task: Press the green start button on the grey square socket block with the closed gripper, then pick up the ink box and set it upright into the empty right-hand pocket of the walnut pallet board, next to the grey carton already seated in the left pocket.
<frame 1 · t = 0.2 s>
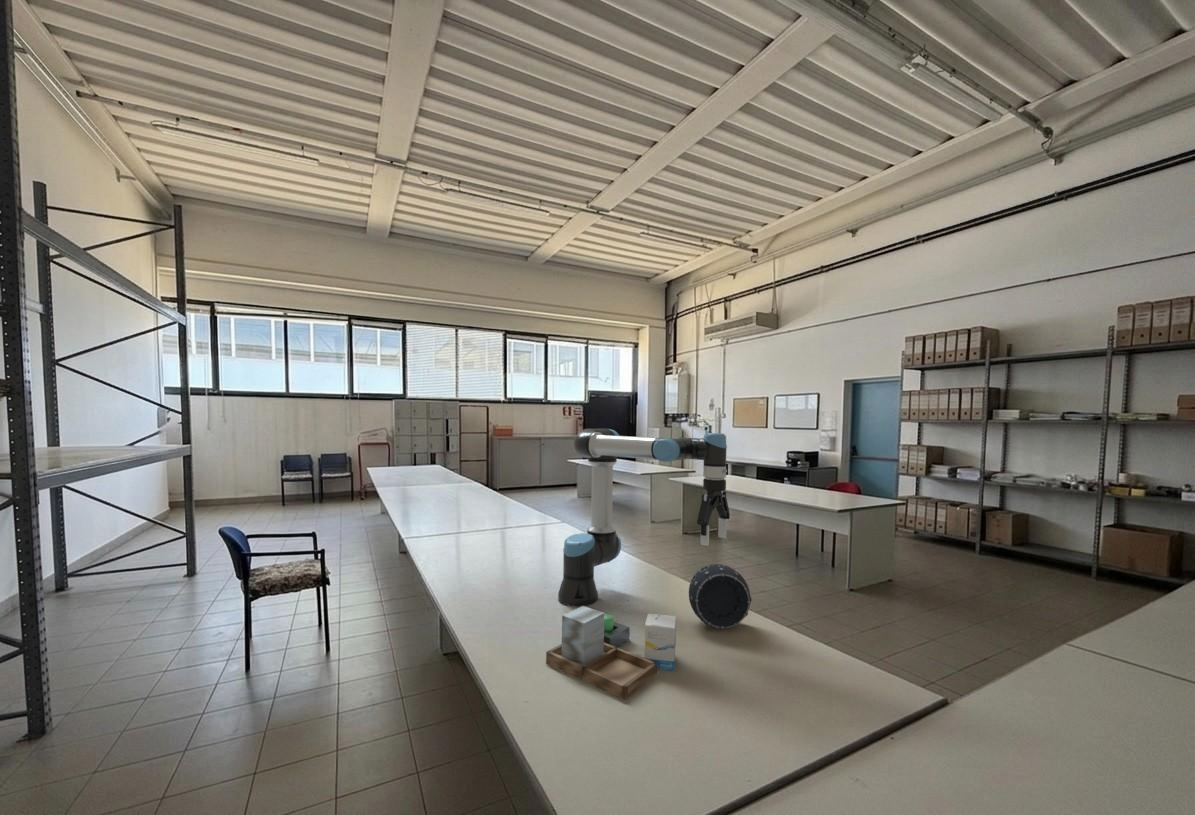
hand: (713, 541, 159), 28 cm above the table, fingers open, 13 cm apart
start button: (607, 625, 145), point 5 cm above the table, slide at 0.0 cm
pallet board: (600, 668, 128), on the table
grey square socket block: (606, 640, 145), on the table
dark round pouf: (718, 626, 157), on the table
ink box: (660, 662, 133), on the table
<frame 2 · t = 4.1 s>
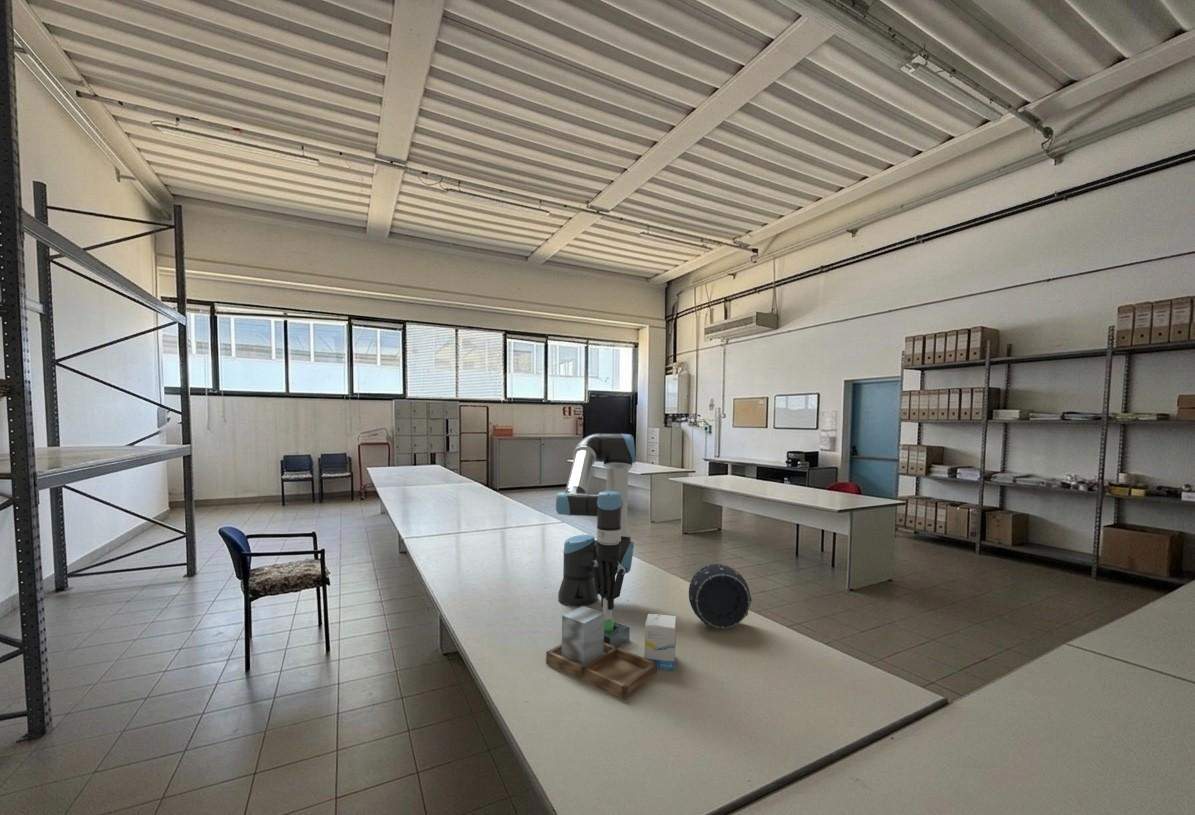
hand: (607, 619, 145), 7 cm above the table, fingers closed
start button: (607, 627, 145), point 4 cm above the table, slide at 0.7 cm, touching gripper
everything else where it was.
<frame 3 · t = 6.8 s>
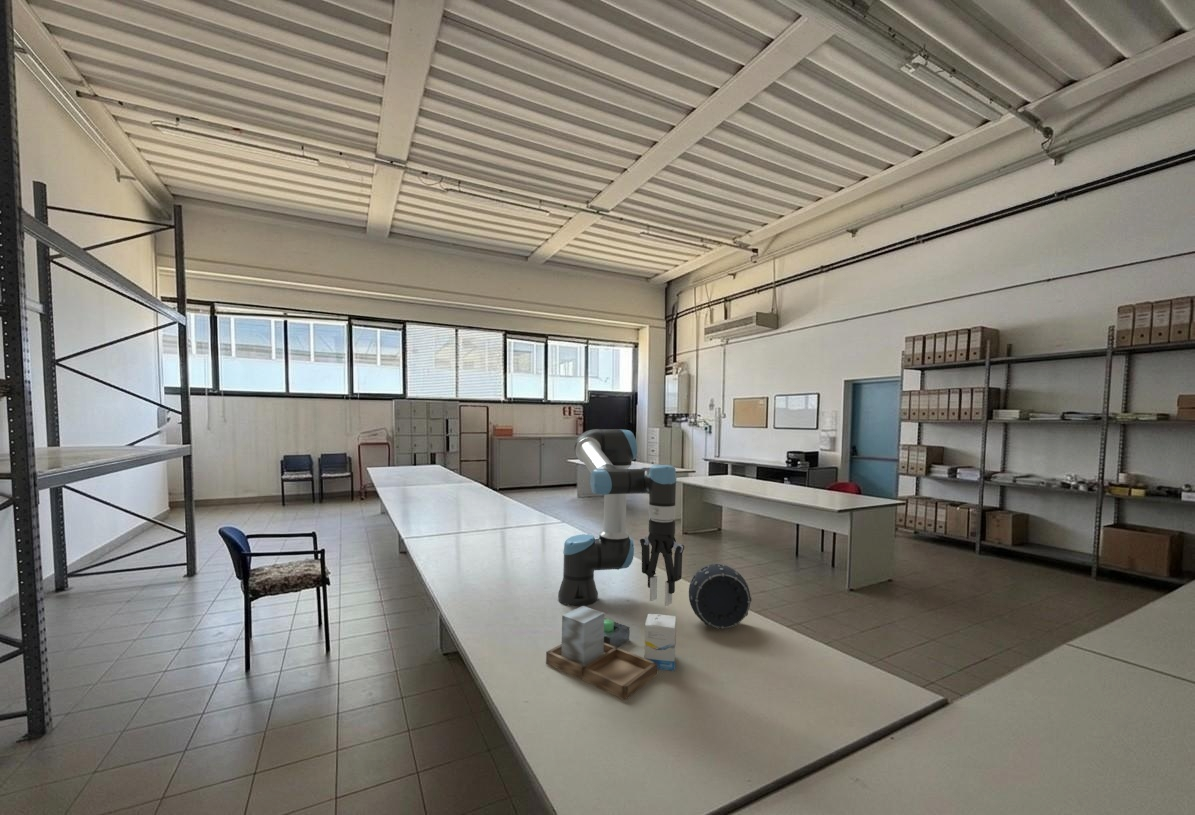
hand: (660, 601, 133), 17 cm above the table, fingers open, 4 cm apart
start button: (607, 630, 145), point 3 cm above the table, slide at 1.5 cm
everything else where it was.
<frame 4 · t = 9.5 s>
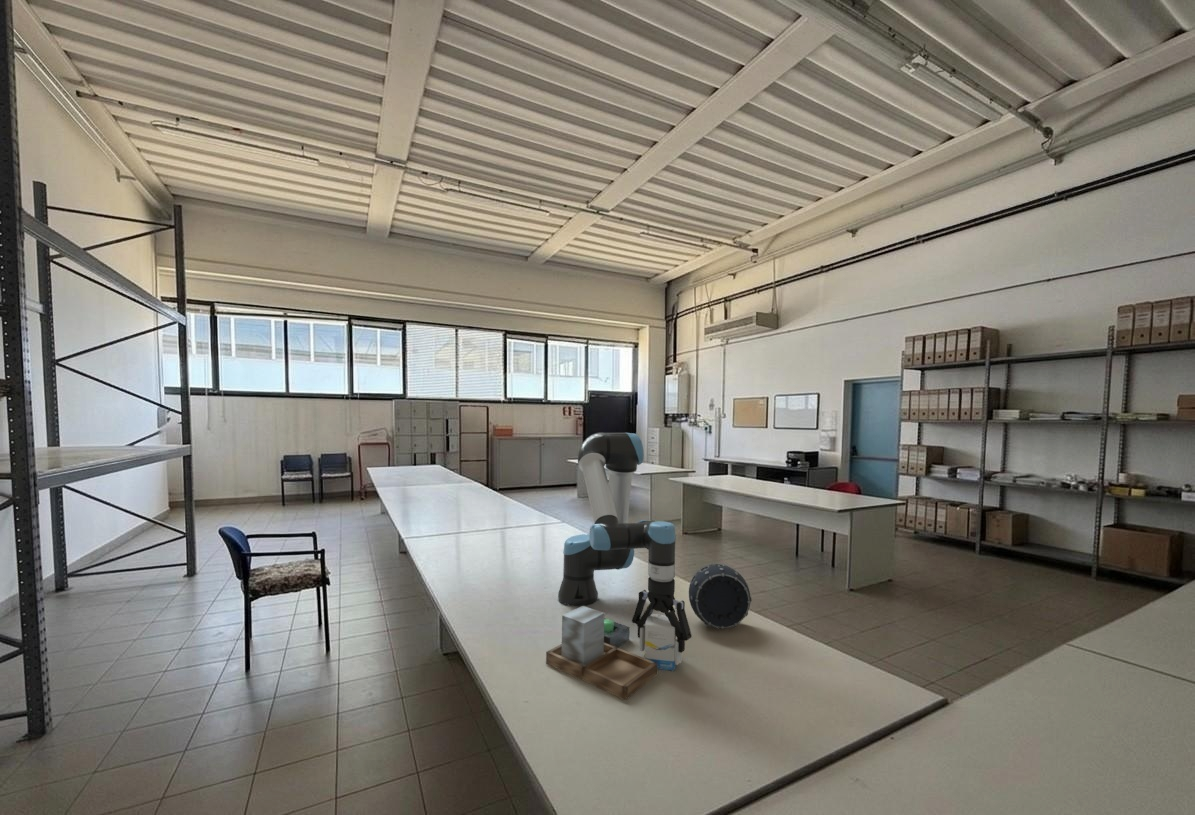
hand: (660, 656, 133), 2 cm above the table, fingers closed on ink box, 11 cm apart
ink box: (660, 662, 133), on the table, touching gripper
everything else where it was.
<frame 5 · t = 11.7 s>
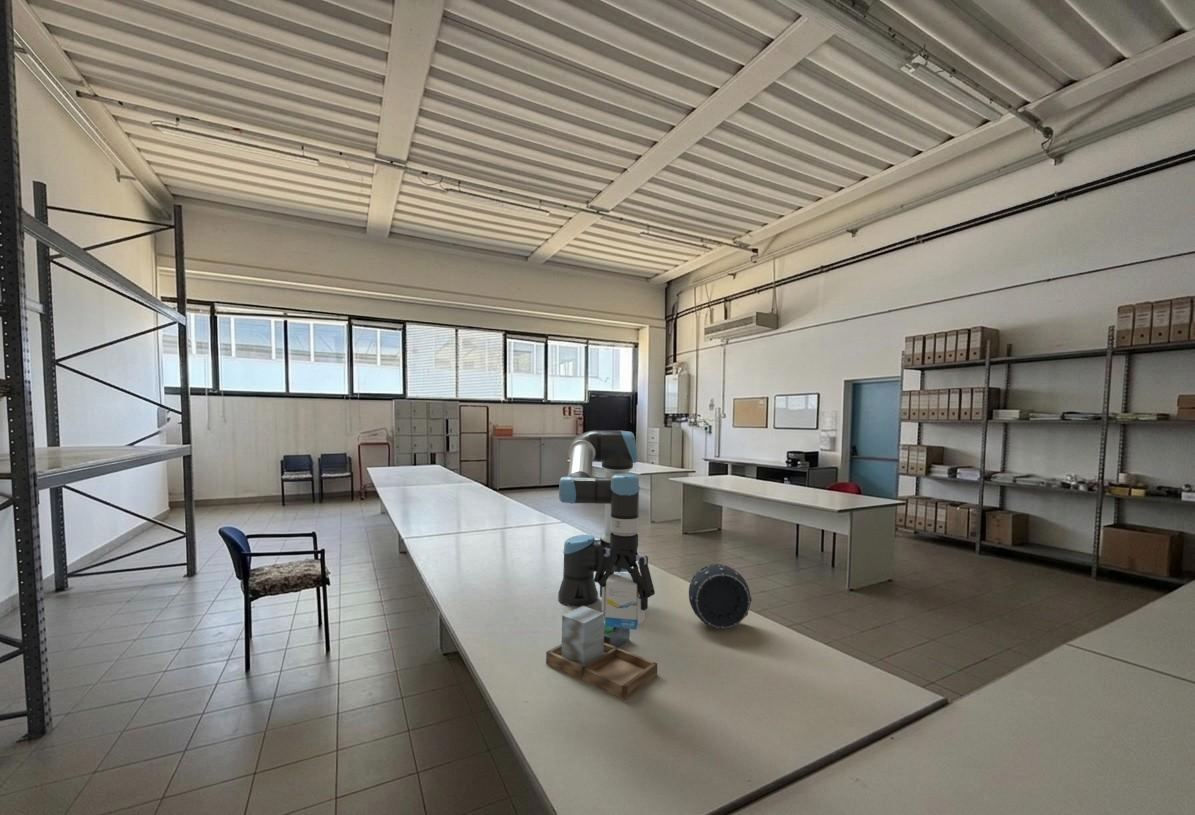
hand: (622, 615, 125), 16 cm above the table, fingers closed on ink box, 11 cm apart
ink box: (622, 622, 125), point 14 cm above the table, touching gripper
everything else where it was.
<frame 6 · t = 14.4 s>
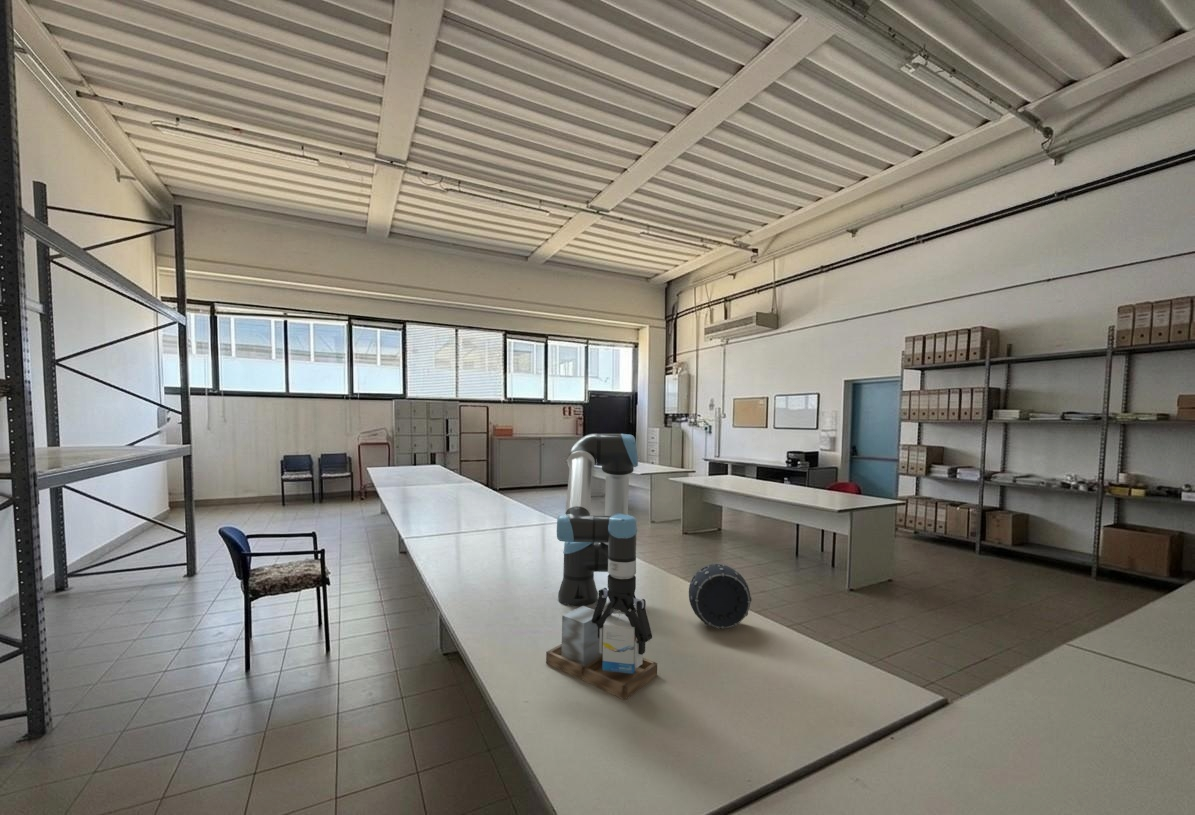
hand: (620, 658, 124), 5 cm above the table, fingers closed on ink box, 11 cm apart
ink box: (620, 665, 124), point 3 cm above the table, touching gripper
everything else where it was.
when the fingers open (5 cm above the table, at t = 14.4 s): ink box drops 2 cm, resting on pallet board.
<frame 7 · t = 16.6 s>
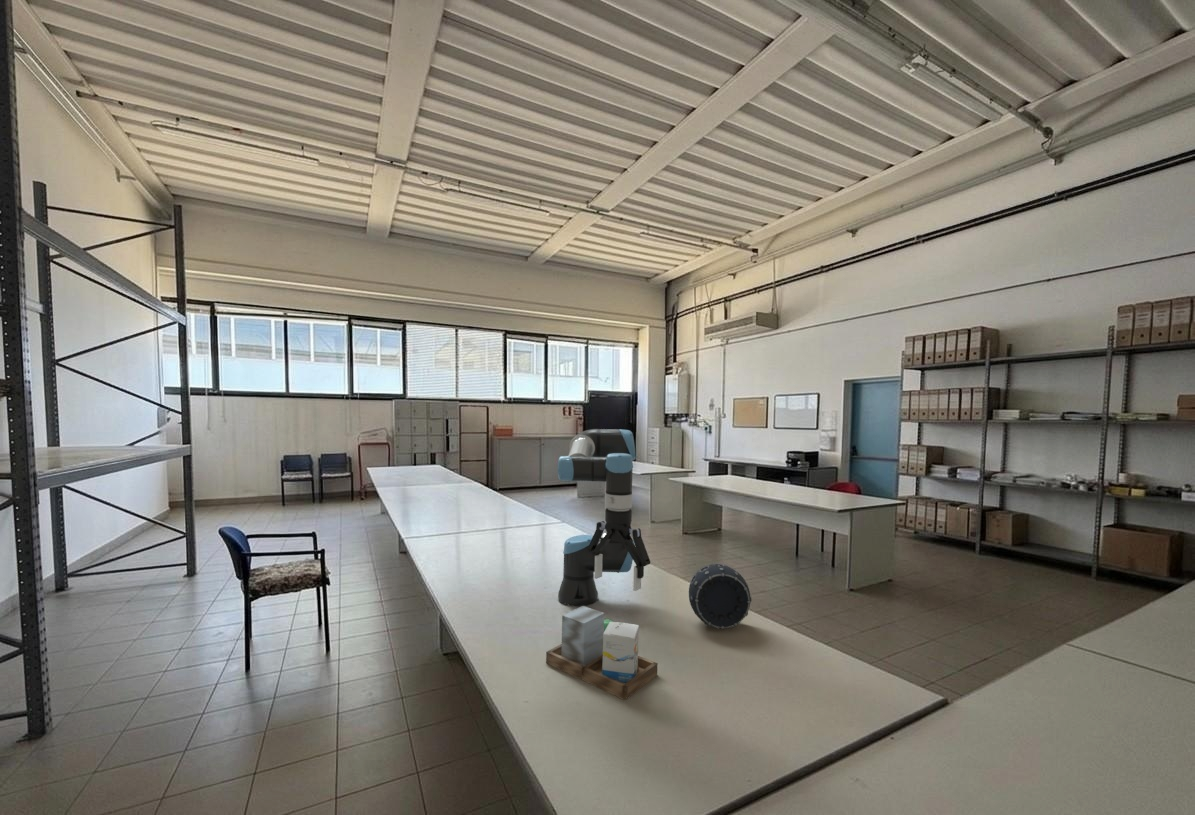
hand: (617, 583, 133), 22 cm above the table, fingers open, 13 cm apart
ink box: (620, 674, 124), point 1 cm above the table, touching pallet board
everything else where it was.
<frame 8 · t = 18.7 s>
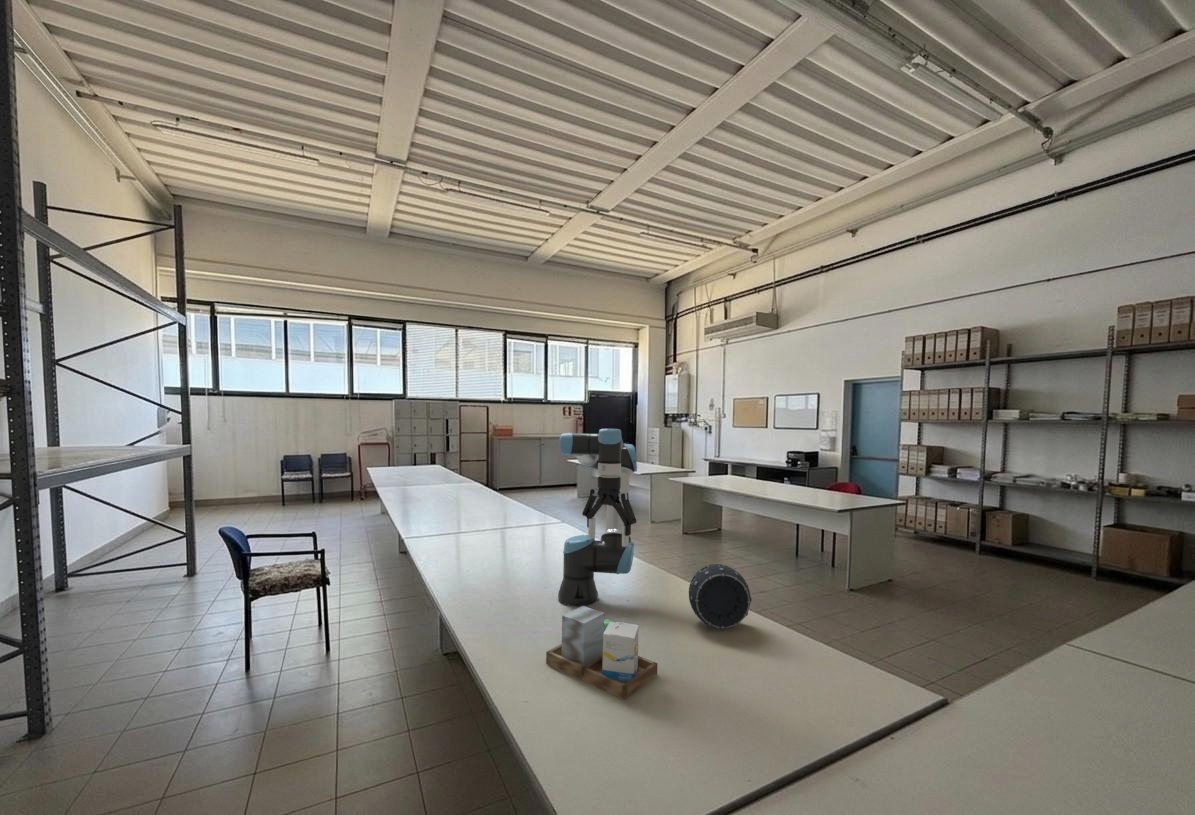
hand: (608, 541, 152), 29 cm above the table, fingers open, 13 cm apart
nothing on the table moved.
at the end: start button slide at 1.5 cm; ink box 0.2 cm from the target spot on the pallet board, point 0.8 cm above the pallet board's base; ink box tilted 0° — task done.
